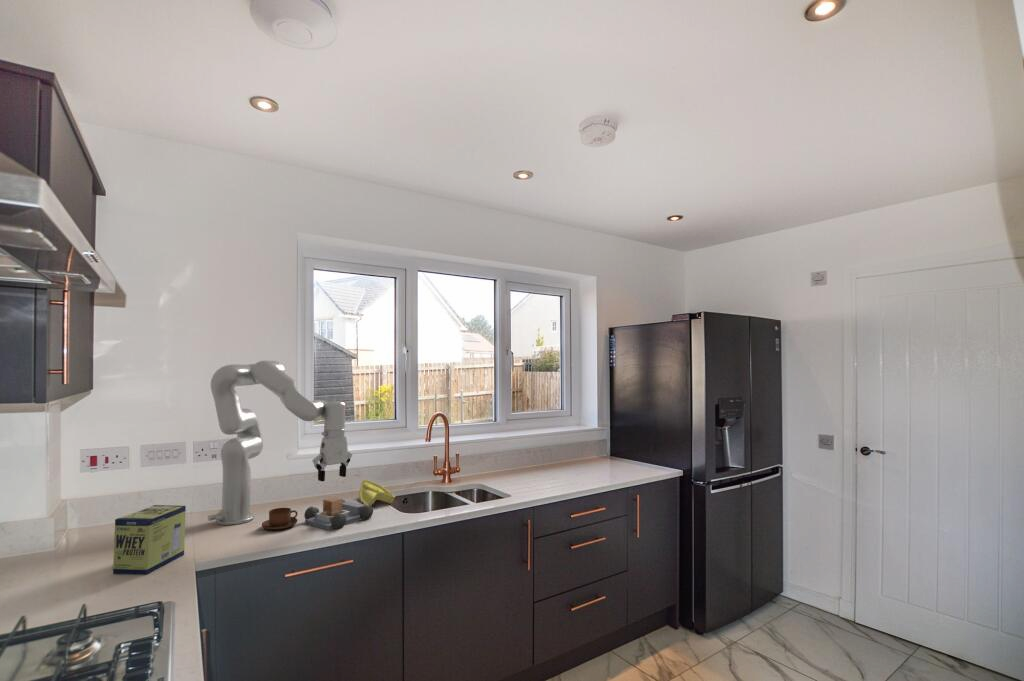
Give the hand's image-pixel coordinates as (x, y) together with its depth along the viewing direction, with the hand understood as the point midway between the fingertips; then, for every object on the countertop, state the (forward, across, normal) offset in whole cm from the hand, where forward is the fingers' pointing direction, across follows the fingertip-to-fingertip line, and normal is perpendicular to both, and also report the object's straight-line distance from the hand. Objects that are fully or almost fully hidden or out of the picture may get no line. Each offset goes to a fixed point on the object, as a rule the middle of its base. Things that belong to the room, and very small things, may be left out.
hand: (332, 478), depth 191 cm
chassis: (+16, +4, -1) cm, 17 cm away
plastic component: (+17, +31, +9) cm, 36 cm away
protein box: (+18, -56, +11) cm, 59 cm away
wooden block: (+15, 0, -1) cm, 15 cm away
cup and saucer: (+17, -14, +11) cm, 25 cm away
